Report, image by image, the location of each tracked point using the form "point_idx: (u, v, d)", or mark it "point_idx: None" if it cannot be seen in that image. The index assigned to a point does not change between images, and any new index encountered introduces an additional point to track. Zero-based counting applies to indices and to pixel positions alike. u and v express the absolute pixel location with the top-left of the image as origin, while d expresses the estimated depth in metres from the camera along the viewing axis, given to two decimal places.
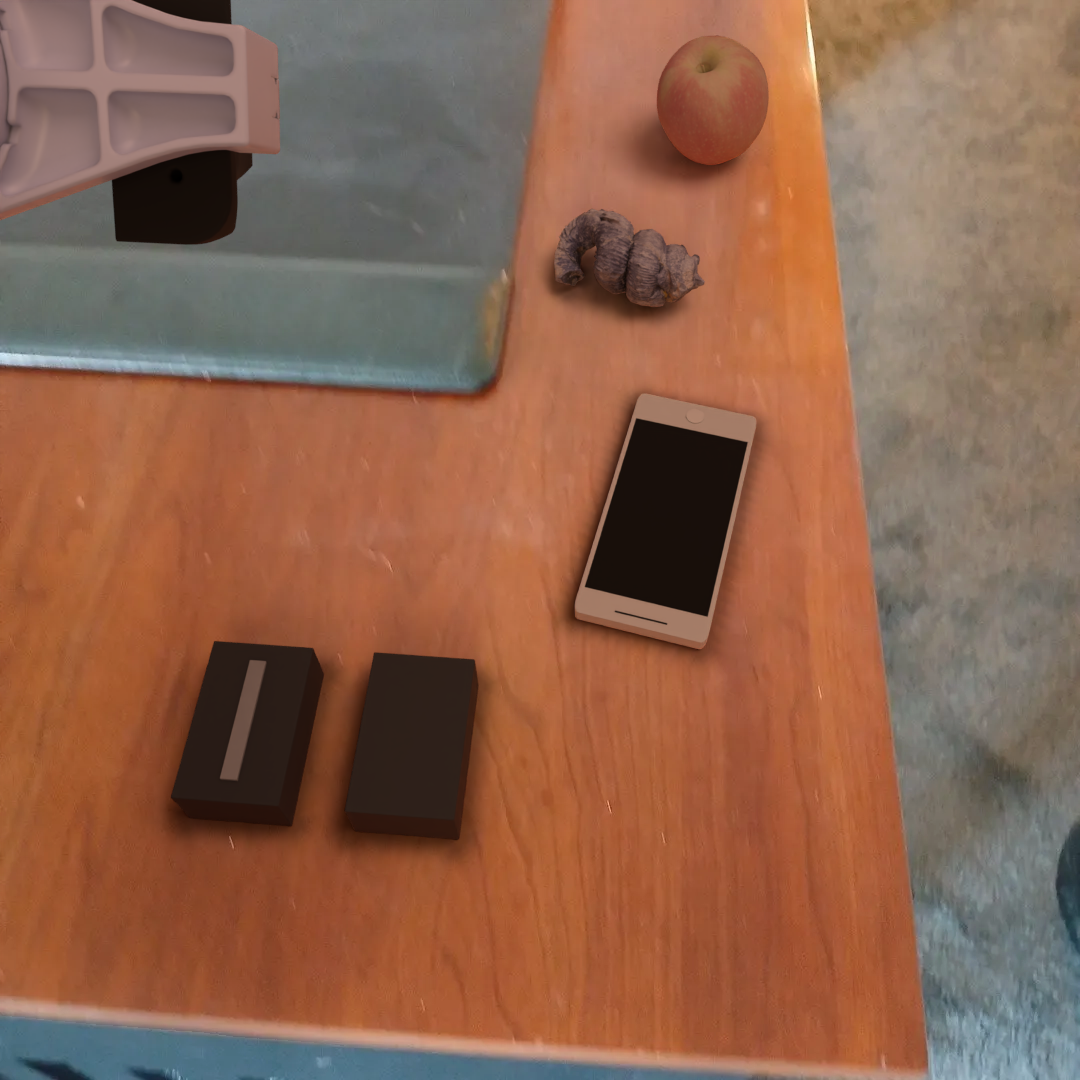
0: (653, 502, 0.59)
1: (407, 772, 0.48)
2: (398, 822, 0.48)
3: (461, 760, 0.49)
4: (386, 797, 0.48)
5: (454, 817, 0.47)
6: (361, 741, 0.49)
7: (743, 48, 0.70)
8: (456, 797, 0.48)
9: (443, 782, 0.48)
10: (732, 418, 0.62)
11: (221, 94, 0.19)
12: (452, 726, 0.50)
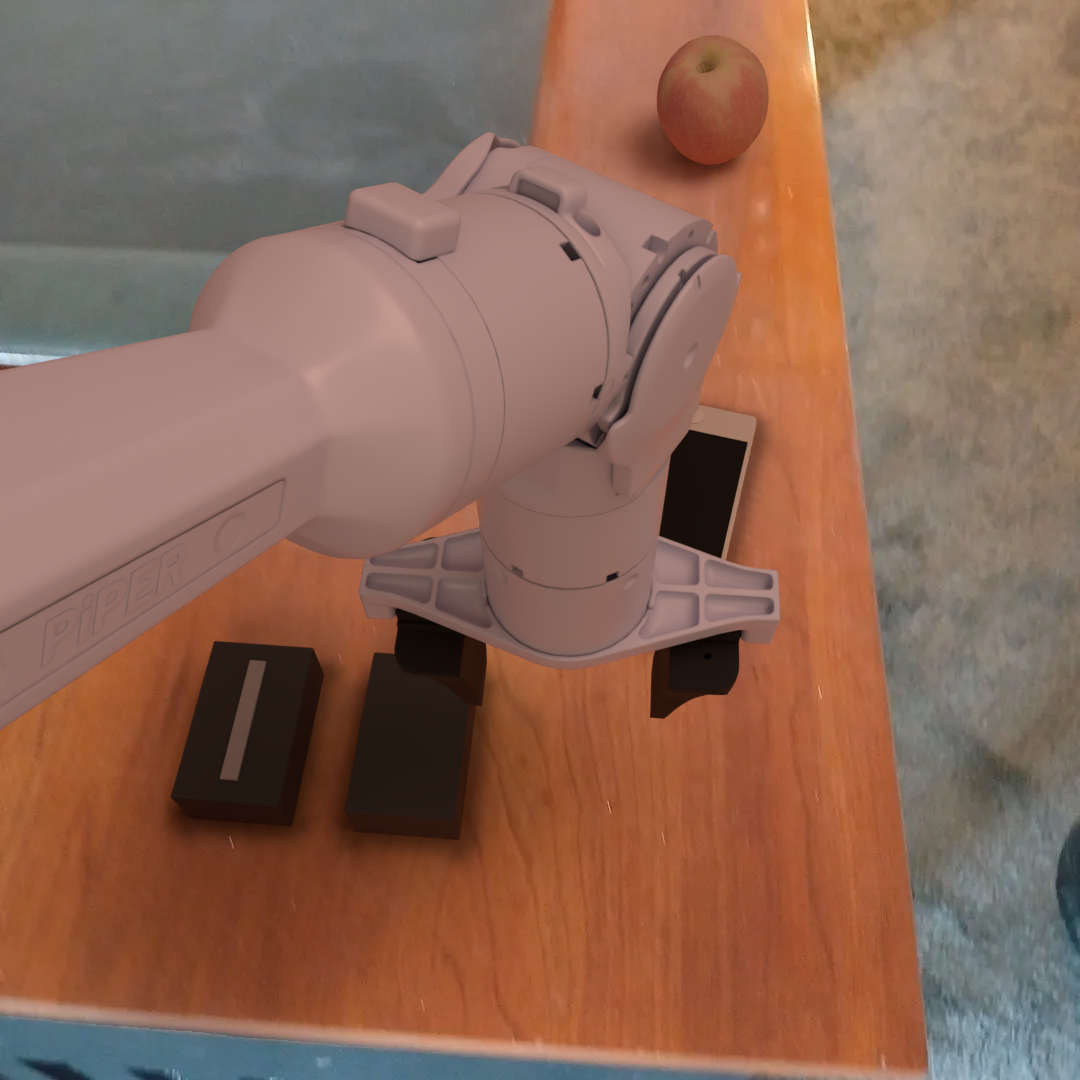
0: None
1: (407, 772, 0.48)
2: (398, 822, 0.48)
3: (461, 760, 0.49)
4: (386, 797, 0.48)
5: (454, 817, 0.47)
6: (361, 741, 0.49)
7: (743, 48, 0.70)
8: (456, 797, 0.48)
9: (443, 782, 0.48)
10: (732, 418, 0.62)
11: (766, 597, 0.36)
12: (452, 726, 0.50)
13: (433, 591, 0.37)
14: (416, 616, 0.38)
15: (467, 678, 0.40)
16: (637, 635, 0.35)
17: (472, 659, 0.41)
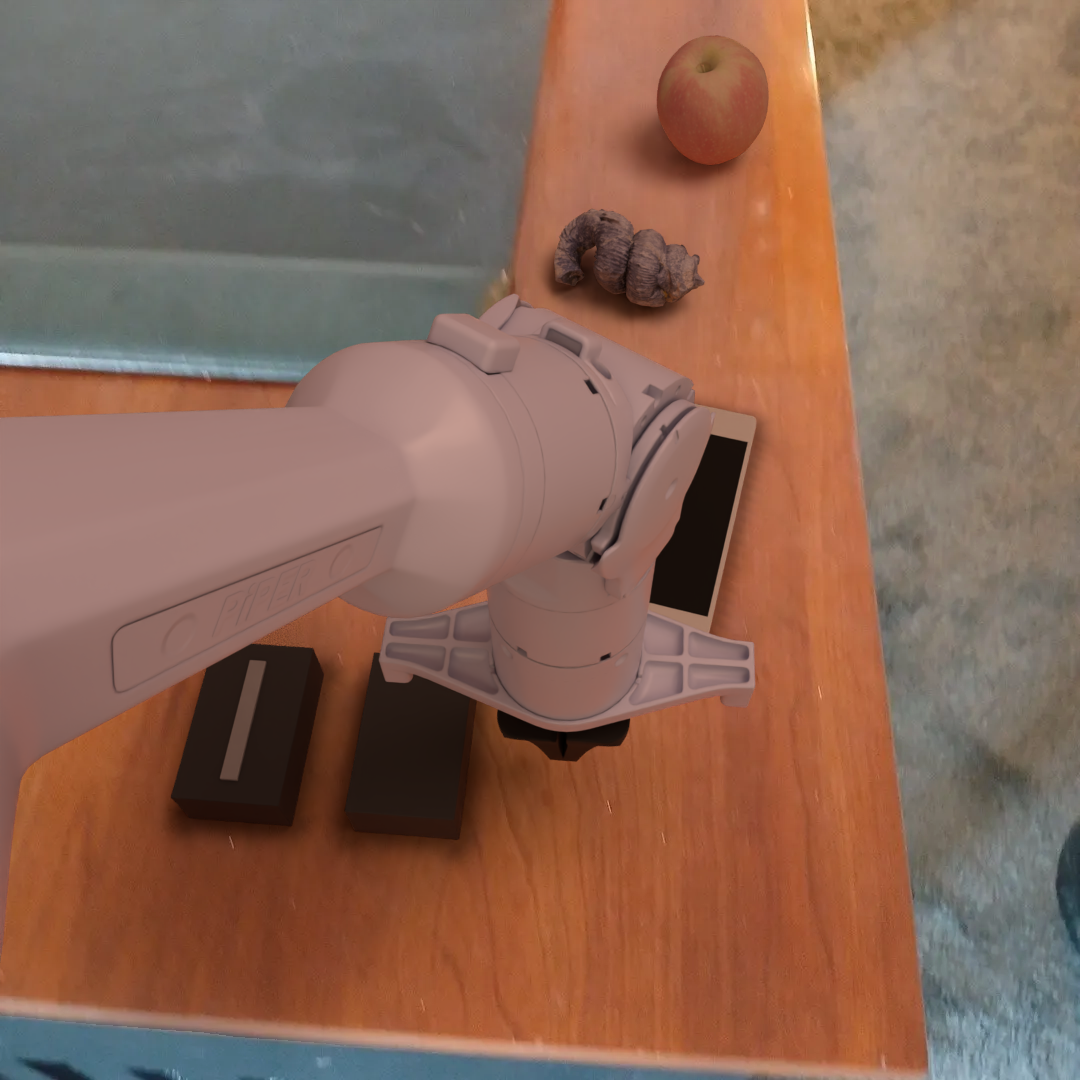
0: None
1: (407, 772, 0.48)
2: (398, 822, 0.48)
3: (461, 760, 0.49)
4: (386, 797, 0.48)
5: (454, 817, 0.47)
6: (361, 741, 0.49)
7: (743, 48, 0.70)
8: (456, 797, 0.48)
9: (443, 782, 0.48)
10: (732, 418, 0.62)
11: (743, 666, 0.41)
12: (452, 726, 0.50)
13: (446, 660, 0.41)
14: None
15: None
16: (628, 701, 0.40)
17: None
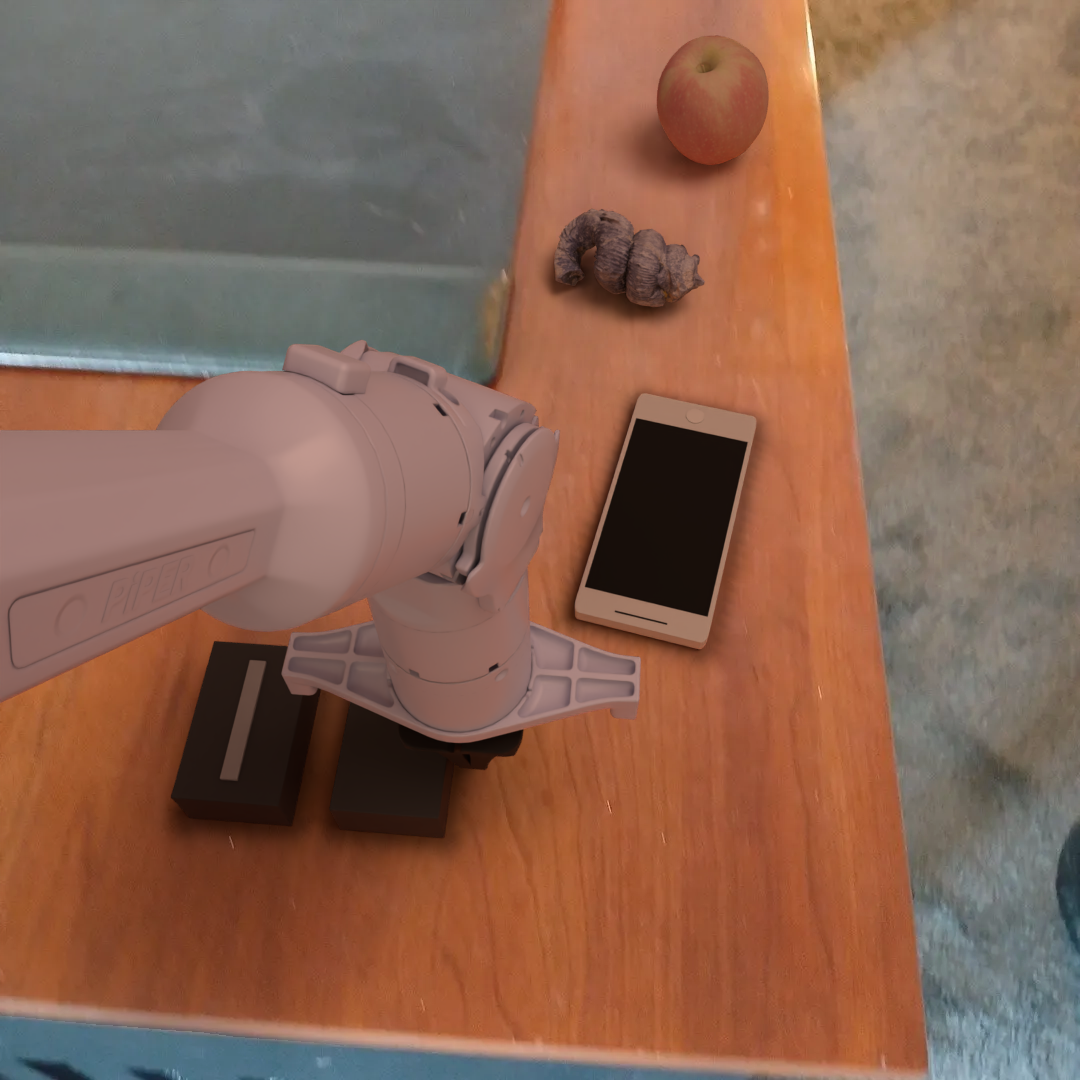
0: (653, 502, 0.59)
1: (392, 771, 0.49)
2: (383, 820, 0.48)
3: (446, 759, 0.49)
4: (371, 795, 0.48)
5: (438, 816, 0.47)
6: (346, 739, 0.49)
7: (743, 48, 0.70)
8: (441, 796, 0.48)
9: (428, 781, 0.48)
10: (732, 418, 0.62)
11: (628, 681, 0.42)
12: None
13: (345, 674, 0.43)
14: None
15: (461, 749, 0.46)
16: (516, 714, 0.42)
17: None
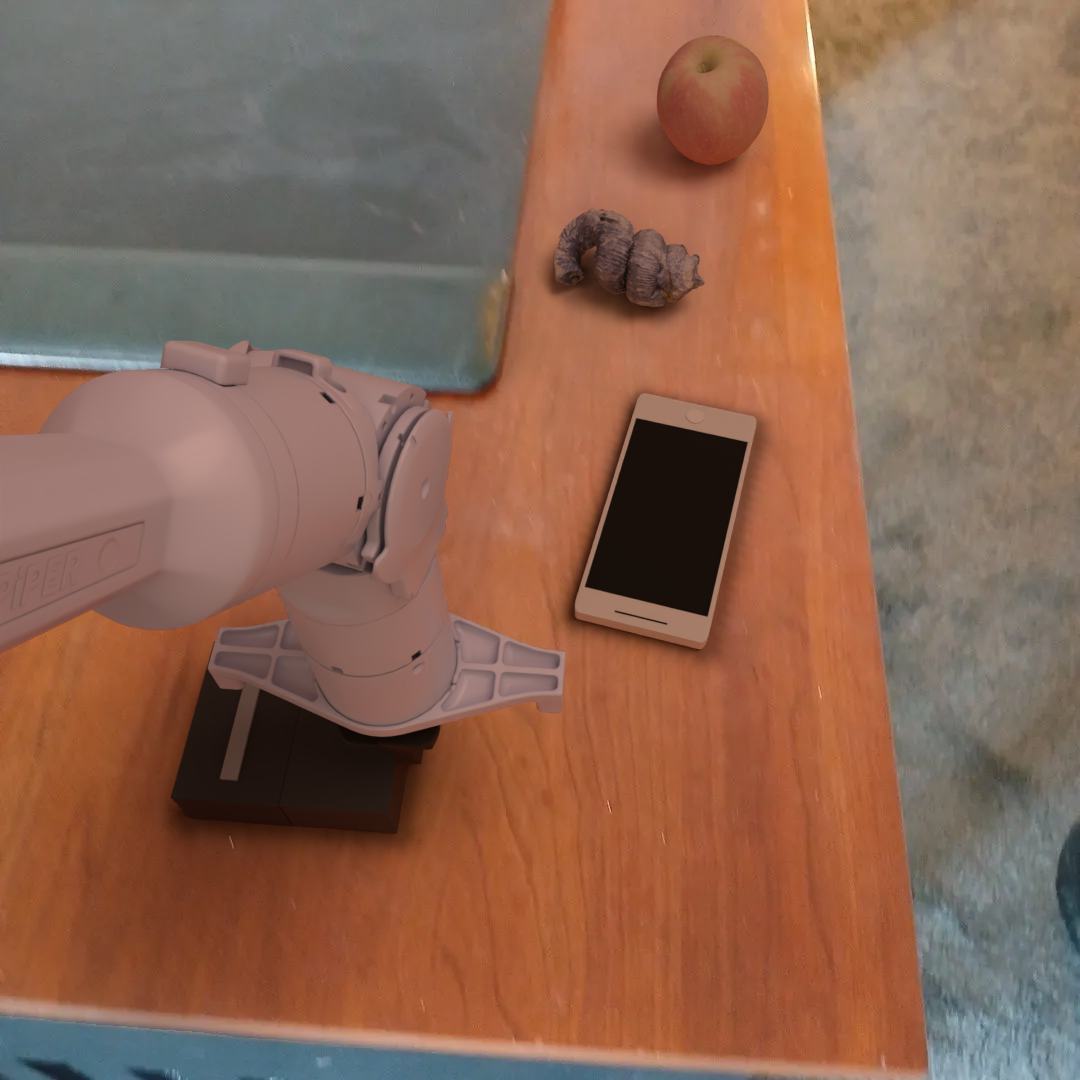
0: (653, 502, 0.59)
1: (342, 766, 0.49)
2: (334, 815, 0.48)
3: None
4: (321, 791, 0.48)
5: (387, 810, 0.48)
6: (298, 735, 0.49)
7: (743, 48, 0.70)
8: (390, 790, 0.48)
9: (378, 776, 0.48)
10: (732, 418, 0.62)
11: (552, 675, 0.43)
12: None
13: (271, 668, 0.43)
14: None
15: None
16: (439, 708, 0.42)
17: None
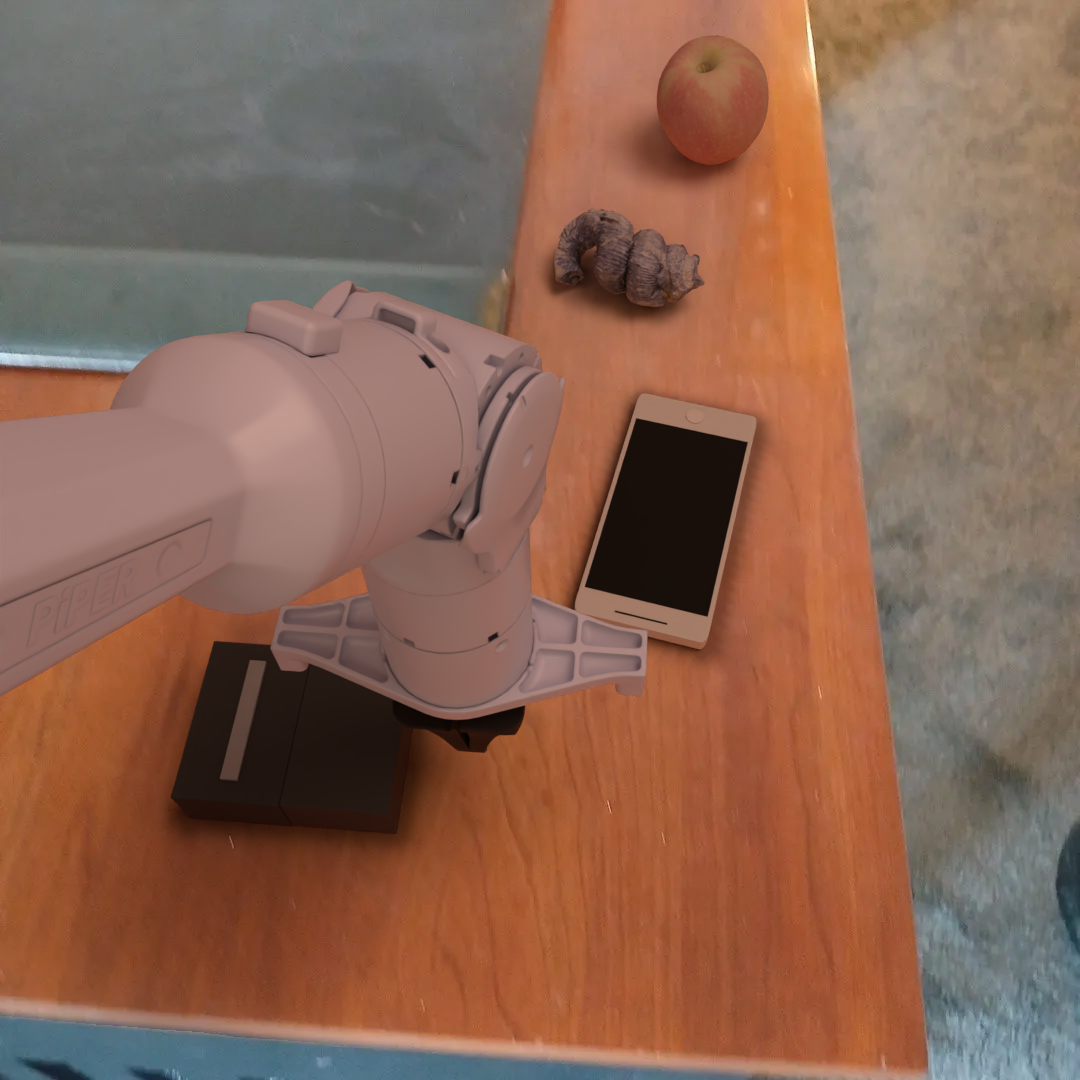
0: (653, 502, 0.59)
1: (343, 767, 0.49)
2: (334, 816, 0.48)
3: (397, 754, 0.49)
4: (321, 791, 0.48)
5: (388, 811, 0.48)
6: (298, 735, 0.49)
7: (743, 48, 0.70)
8: (391, 791, 0.48)
9: (378, 777, 0.48)
10: (732, 418, 0.62)
11: (635, 655, 0.40)
12: (389, 720, 0.50)
13: (337, 648, 0.41)
14: None
15: (458, 729, 0.44)
16: (517, 689, 0.40)
17: None
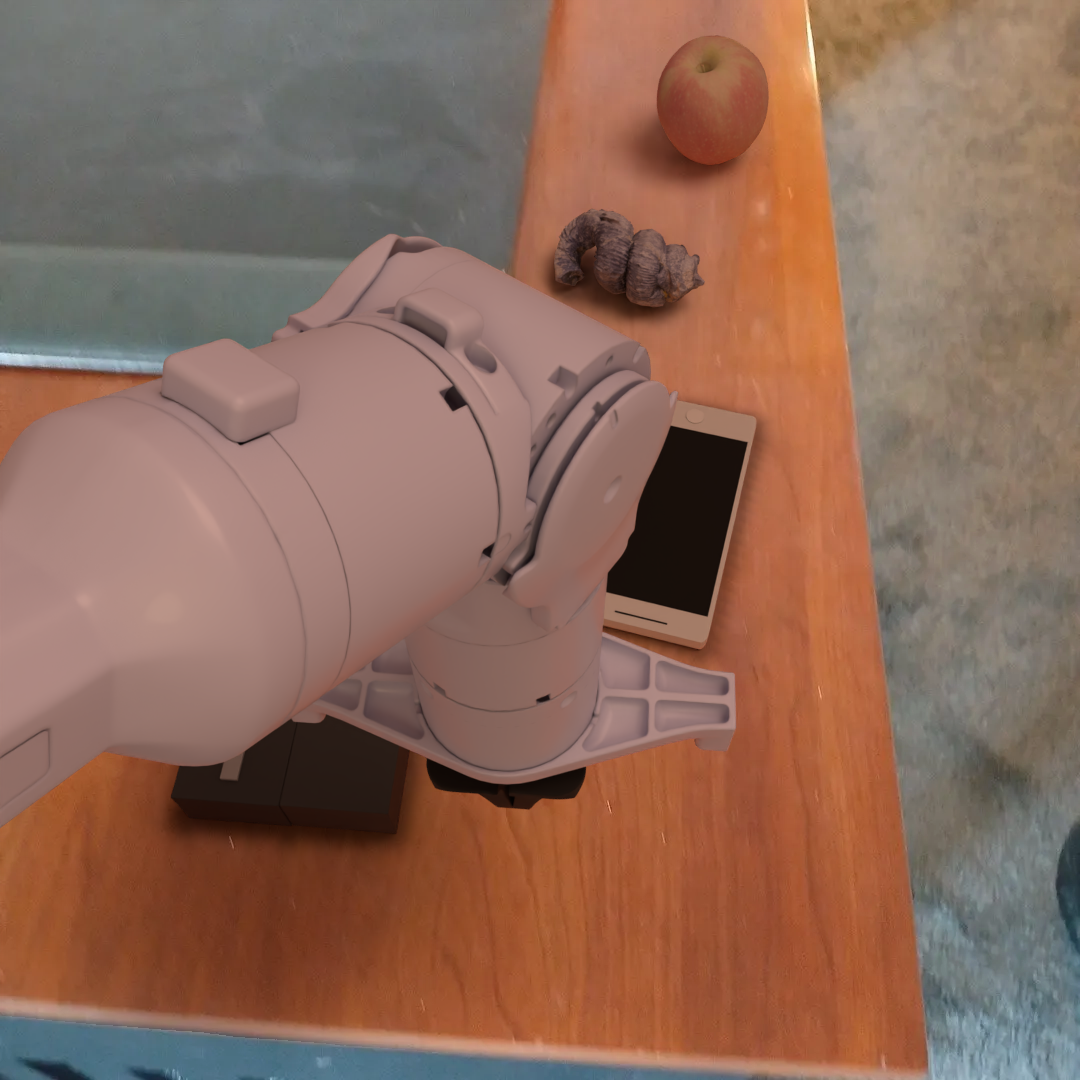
0: (653, 502, 0.59)
1: (343, 767, 0.49)
2: (334, 816, 0.48)
3: (397, 754, 0.49)
4: (321, 791, 0.48)
5: (388, 811, 0.48)
6: (298, 735, 0.49)
7: (743, 48, 0.70)
8: (391, 791, 0.48)
9: (378, 777, 0.48)
10: (732, 418, 0.62)
11: (721, 703, 0.34)
12: None
13: (362, 696, 0.34)
14: None
15: (503, 788, 0.37)
16: (581, 747, 0.33)
17: None
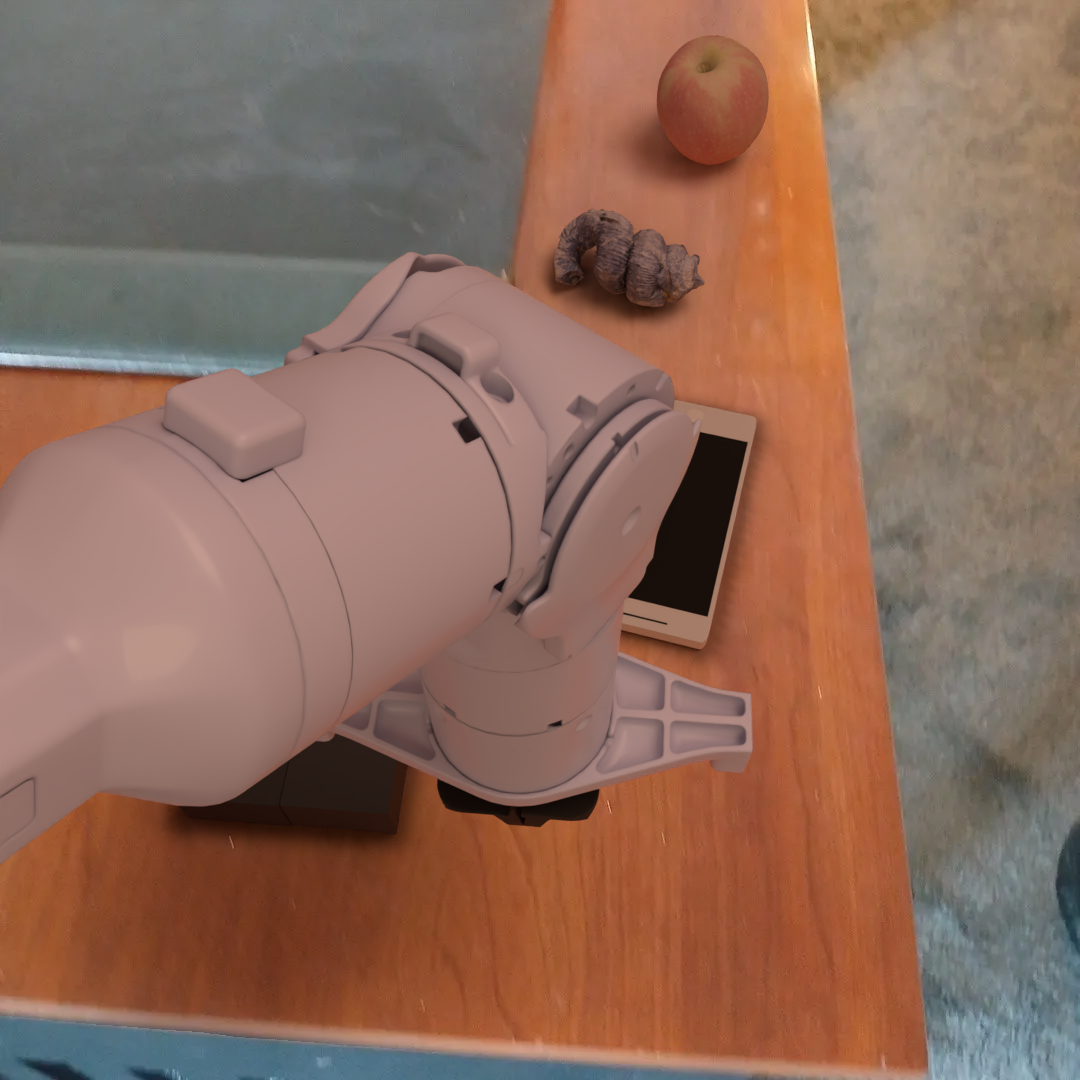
0: None
1: (343, 767, 0.49)
2: (334, 816, 0.48)
3: None
4: (321, 791, 0.48)
5: (388, 811, 0.48)
6: None
7: (743, 48, 0.70)
8: (391, 791, 0.48)
9: (378, 777, 0.48)
10: (732, 418, 0.62)
11: (737, 725, 0.33)
12: None
13: (372, 716, 0.33)
14: None
15: (514, 807, 0.37)
16: (595, 769, 0.32)
17: None
